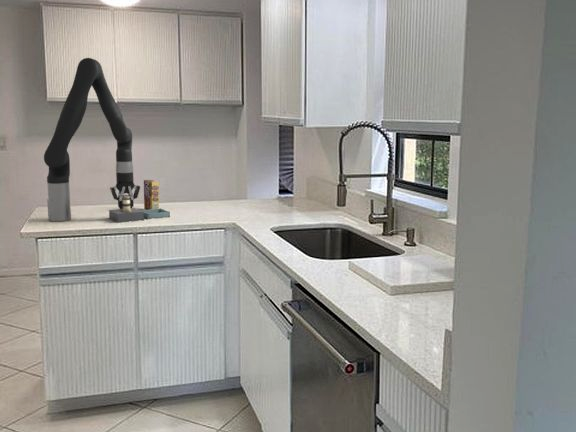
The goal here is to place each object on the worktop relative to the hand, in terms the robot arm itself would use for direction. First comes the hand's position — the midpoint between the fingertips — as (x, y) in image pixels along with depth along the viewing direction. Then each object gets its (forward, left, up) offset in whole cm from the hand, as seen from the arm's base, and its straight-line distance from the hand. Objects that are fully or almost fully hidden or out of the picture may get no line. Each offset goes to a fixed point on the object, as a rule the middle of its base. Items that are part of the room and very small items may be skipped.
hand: (126, 208), depth 272 cm
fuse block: (0, 0, -5) cm, 5 cm away
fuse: (0, 0, -5) cm, 5 cm away
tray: (+14, +1, -5) cm, 15 cm away
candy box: (+19, +17, -6) cm, 26 cm away
